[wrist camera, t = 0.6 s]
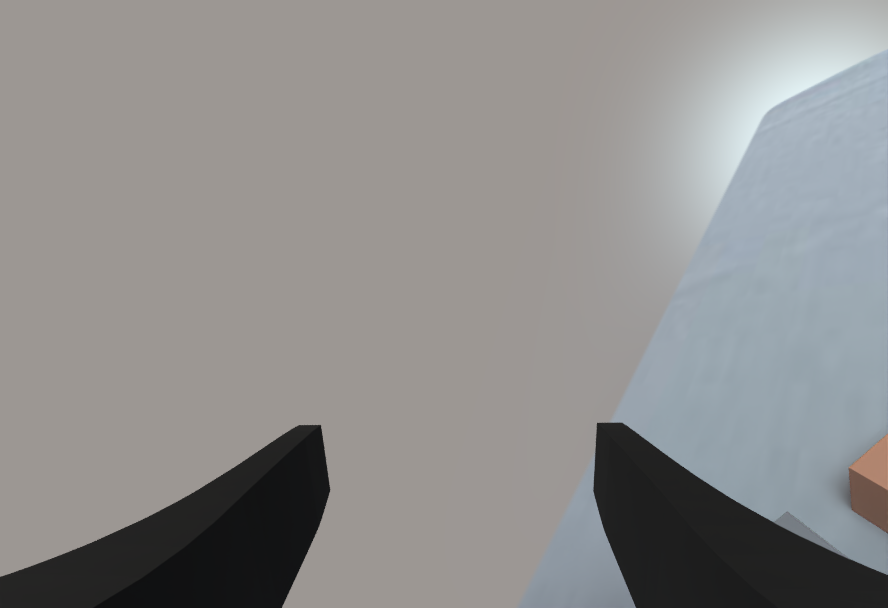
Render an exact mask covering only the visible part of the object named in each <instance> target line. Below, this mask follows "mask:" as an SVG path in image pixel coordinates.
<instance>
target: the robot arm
mask: <svg viewBox="0 0 888 608" xmlns="http://www.w3.org/2000/svg"><path fill="white" fill-rule="evenodd" d="M593 491H594V495H595V499H596V503H597V506H598V510H599V514H600V517H601V521H602V524H603V528H604V531H605V533H606V536H607V538H608V541H609V543H610V546H611V548H612V551H613V553H614V556H615V558H616V560H617V563H618V565H619V568H620V570H621V572H622V575H623V577H624V580H625V582H626V584H627V587H628V589H629V592H630V594H631V597H632V599H633V601H634V604H635V606H636V608H888V575H886V574H884V573H881V572H879V571H876V570H874V569H871V568H869V567H867V566H864V565H862V564H860V563H857V562H855V561H853V560H850V559H848V558H846V557H844V556H841V555H839V554H837V553H835V552H833V551H831V550H828V549H826V548H824V547H822V546H820V545H818V544H816V543H814V542H812V541H809V540H807V539H805V538H803V537H801V536H799V535H797V534H795V533H793V532H791V531H789V530H787V529H785V528H783V527H781V526H779V525H777V524H775V523H774V522H772V521H770V520H768V519H766V518H765V517H763V516H761V515H759V514H757V513H756V512H754V511H752V510H750V509H748V508H747V507H745V506H743V505H741V504H740V503H738V502H736V501H735V500H733V499H731V498H730V497H728V496H726V495H725V494H723V493H722V492H720V491H718V490H717V489H715V488H714V487H712V486H711V485H709V484H708V483H706V482H704V481H703V480H701V479H700V478H698V477H697V476H695V475H694V474H692V473H691V472H690V471H688V470H687V469H685V468H684V467H682V466H681V465H679V464H678V463H677V462H675V461H674V460H672V459H671V458H670V457H668V456H667V455H666V454H664V453H663V452H662V451H660V450H659V449H657V448H656V447H655V446H653V445H652V444H651V443H649V442H648V441H647V440H645V439H644V438H643V437H641V436H640V435H639V434H637V433H636V432H635V431H633V430H632V429H630V428H629V427H628V426H626V425H625V424H623V423H597V434H596V453H595V471H594V490H593ZM329 492H330V485H329V478H328V471H327V465H326V457H325V450H324V443H323V436H322V429H321V425H299V426H297V427H295V428H293V429H291V430H290V431H288V432H287V433H285V434H284V435H282V436H280V437H279V438H277V439H276V440H275V441H273V442H271V443H270V444H268V445H267V446H266V447H264V448H263V449H261V450H260V451H258V452H257V453H255V454H254V455H252V456H251V457H249V458H248V459H246V460H245V461H243V462H242V463H240V464H239V465H237V466H236V467H234V468H233V469H231V470H229V471H228V472H226V473H225V474H223V475H221V476H220V477H218V478H216V479H215V480H214V481H212V482H210V483H208V484H207V485H205V486H204V487H202V488H200V489H199V490H197V491H195V492H194V493H192V494H190V495H189V496H187V497H185V498H183V499H181V500H180V501H178V502H176V503H174V504H172V505H170V506H168V507H166V508H164V509H162V510H160V511H159V512H157V513H155V514H153V515H151V516H149V517H147V518H145V519H143V520H141V521H138V522H136V523H134V524H132V525H130V526H128V527H125V528H123V529H121V530H119V531H116V532H114V533H112V534H110V535H108V536H105V537H103V538H101V539H99V540H97V541H94V542H92V543H90V544H87V545H85V546H83V547H80V548H77V549H75V550H72V551H70V552H68V553H65V554H62V555H60V556H57V557H55V558H52V559H50V560H47V561H44V562H41V563H39V564H36V565H34V566H31V567H28V568H25V569H22V570H19V571H16V572H14V573H11V574H8V575H5V576H2V577H0V608H282V606H283V604H284V602H285V599H286V597H287V595H288V593H289V591H290V589H291V587H292V584H293V582H294V580H295V578H296V576H297V574H298V572H299V569H300V567H301V565H302V563H303V561H304V559H305V556H306V554H307V552H308V550H309V548H310V545H311V543H312V541H313V539H314V537H315V534H316V532H317V530H318V527H319V525H320V521H321V519H322V515H323V513H324V509H325V506H326V503H327V499H328V496H329Z"/></svg>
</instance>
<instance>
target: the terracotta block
mask: <svg viewBox="0 0 888 608" xmlns="http://www.w3.org/2000/svg"><path fill="white" fill-rule="evenodd" d="M849 477H850V490H851V504H852V510H853V511H854V512H856V513H857V514H859V515H860V516H862V517H863V518H865V519H867V520H868V521H870V522H871V523H873V524H874V525H876V526H877V527H879V528H880V529H882V530H883V531H885V532H887V533H888V434H887V435H886V436H885V437H883V438H882V439H881V440H880V441H879V442H878V443H877V444H875V445H874V446H873V447H872V448H871V449H870V450H868V451H867V452H866V453H865V454H864V455H863V456H862V457H860V458H859V459H858V460H857V461H856V462H855V463H853V464H852V465H851V466H850V467H849Z"/></svg>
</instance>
